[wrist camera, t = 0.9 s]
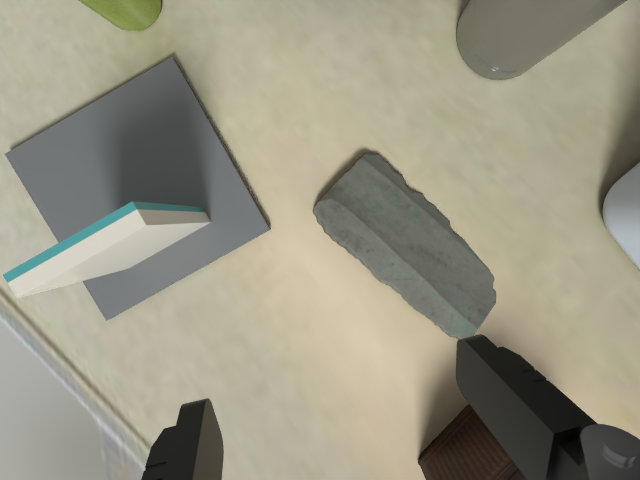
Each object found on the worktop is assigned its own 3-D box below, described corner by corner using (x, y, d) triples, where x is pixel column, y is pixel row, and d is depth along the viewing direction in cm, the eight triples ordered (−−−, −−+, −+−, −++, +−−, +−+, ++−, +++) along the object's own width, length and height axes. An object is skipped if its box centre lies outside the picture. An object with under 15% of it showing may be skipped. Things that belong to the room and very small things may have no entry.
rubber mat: (11, 155, 35) (4, 154, 34) (175, 60, 34) (171, 56, 34) (111, 318, 36) (106, 320, 35) (270, 229, 36) (269, 229, 35)
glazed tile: (120, 253, 35) (2, 274, 22) (202, 207, 35) (132, 201, 22) (129, 268, 35) (17, 298, 22) (211, 222, 35) (146, 225, 22)
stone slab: (364, 149, 37) (305, 216, 36) (371, 141, 34) (306, 214, 33) (509, 281, 38) (454, 349, 37) (526, 284, 35) (468, 357, 34)
